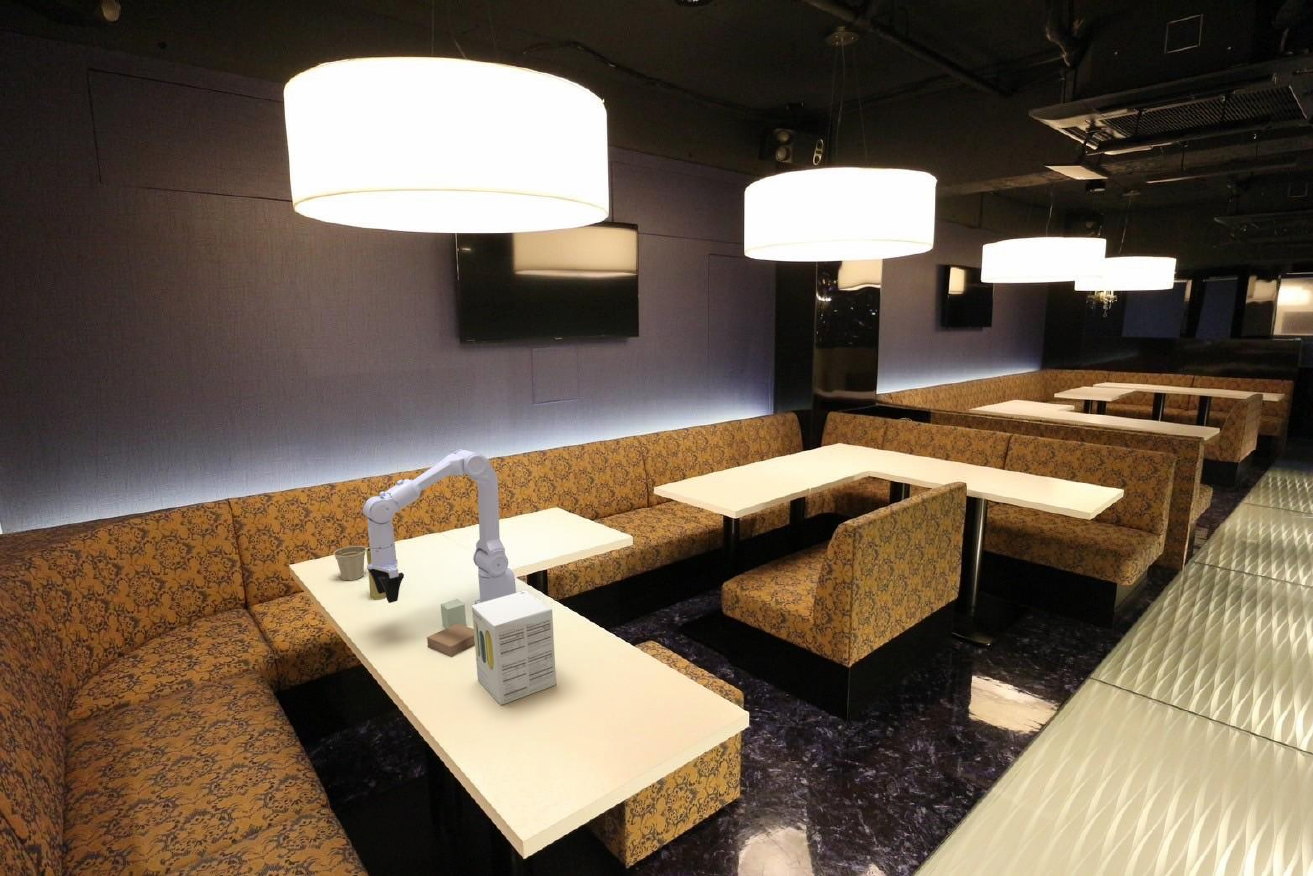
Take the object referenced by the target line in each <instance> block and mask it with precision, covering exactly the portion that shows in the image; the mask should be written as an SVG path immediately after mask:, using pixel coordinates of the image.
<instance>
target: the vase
mask: <svg viewBox="0 0 1313 876" xmlns="http://www.w3.org/2000/svg"><path fill="white" fill-rule="evenodd" d="M366 549H367V550H366V551H365V554H366V561H367V565H368V564H371V552H370V547H368V548H366ZM367 572H368V573H367V574H368V583H369V598H370V599H372V600H382V599H383V600H384V599H387V598H386V594H385V593H381V594H379V593H378V591H377V588H376V585H375V582H374V580H373V577H372V576H371V574H370V572H369V571H368V570H367Z"/></svg>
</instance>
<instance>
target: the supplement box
mask: <svg viewBox="0 0 1313 876" xmlns="http://www.w3.org/2000/svg"><path fill="white" fill-rule="evenodd" d="M471 613H472V614H471V615H472V626H473V628H472V629H474V640H475V645H474V651H475V661H476V675H477V681H479V682H480V684H481V685H482V686H483V687H484V689H486V690H487V692H488V693H489V694H490V695H491V696H492V697H493V698H494V700H495V701H496V702H497V703H498V705H500V706H501V705H505V704H508V703H511V702H513V701H515V700H518V699H519V700H520V699H521V698H524V697H527V696H530V695H532V694H535V693H537V692H541V691H543V690H545V689H549V688H551V687H554V686H556V685H557V675H556V674H557V672H556V660H555V659H556V657H555V656H556V654H555V638H554V621H553V618H554V617H553V608H551V607H550V606H548V605H547V604H546V603H545V602H543V601H542V600H540V599H539V598H538V597H536V596H535V595H533V594H532V593H531V592H529V591H528V590H523V591H518V592H516V593H514V594H510V595H507V596H503V597H500V598H496V599H493V600H489V601H485V602H482V603H478V604H476V603H475V604H472V605H471Z"/></svg>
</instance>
